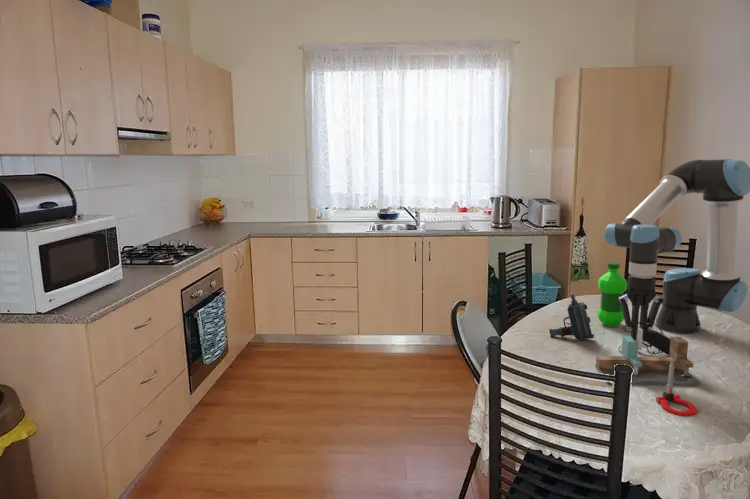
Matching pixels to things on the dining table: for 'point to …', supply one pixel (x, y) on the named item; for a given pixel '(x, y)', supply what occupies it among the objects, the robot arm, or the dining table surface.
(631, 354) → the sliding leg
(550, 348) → the dining table surface
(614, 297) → the plastic bottle
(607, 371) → the bolt plate
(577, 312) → the gun
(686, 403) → the tow hook
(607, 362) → the wooden clamp
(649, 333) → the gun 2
